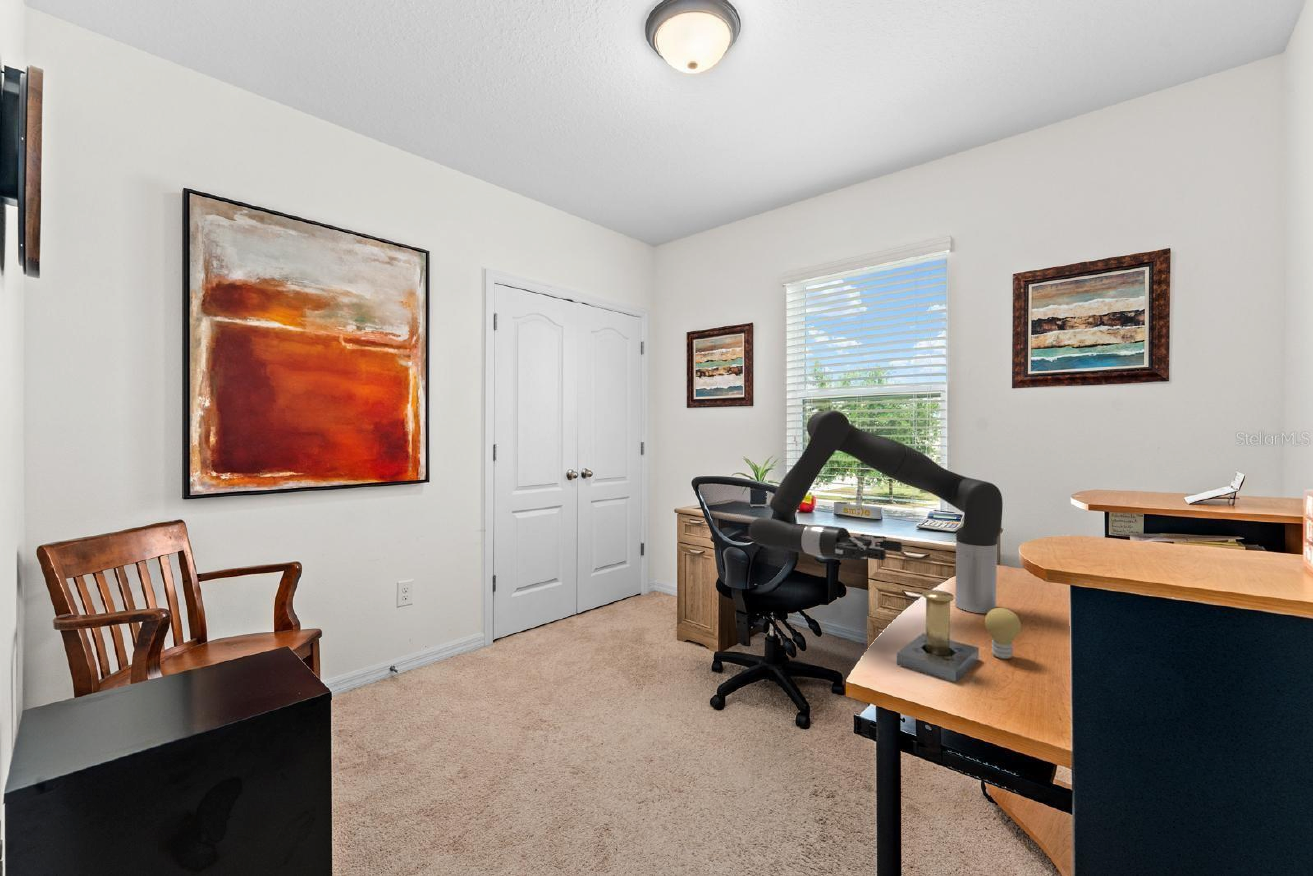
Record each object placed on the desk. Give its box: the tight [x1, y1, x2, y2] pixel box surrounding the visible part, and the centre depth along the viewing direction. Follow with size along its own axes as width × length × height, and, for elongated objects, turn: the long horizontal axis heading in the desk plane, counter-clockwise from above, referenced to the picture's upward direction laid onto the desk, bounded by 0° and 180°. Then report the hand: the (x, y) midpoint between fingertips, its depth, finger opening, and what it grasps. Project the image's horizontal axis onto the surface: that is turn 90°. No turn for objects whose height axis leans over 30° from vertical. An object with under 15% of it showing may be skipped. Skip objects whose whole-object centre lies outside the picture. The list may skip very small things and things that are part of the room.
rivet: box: [922, 589, 955, 657], centre depth 115 cm, size 6×6×14 cm
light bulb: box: [984, 607, 1022, 660], centre depth 117 cm, size 6×6×10 cm
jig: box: [896, 632, 980, 684], centre depth 115 cm, size 14×11×2 cm
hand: (893, 551), depth 124 cm, fingers open, 8 cm apart
